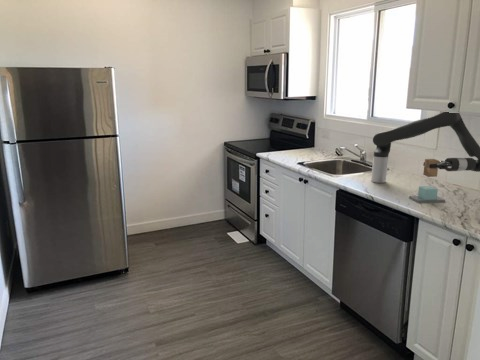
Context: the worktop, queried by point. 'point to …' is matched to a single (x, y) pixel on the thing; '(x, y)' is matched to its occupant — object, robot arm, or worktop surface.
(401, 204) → the worktop surface
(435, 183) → the worktop surface
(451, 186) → the worktop surface
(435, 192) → the tower base
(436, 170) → the walnut brick
